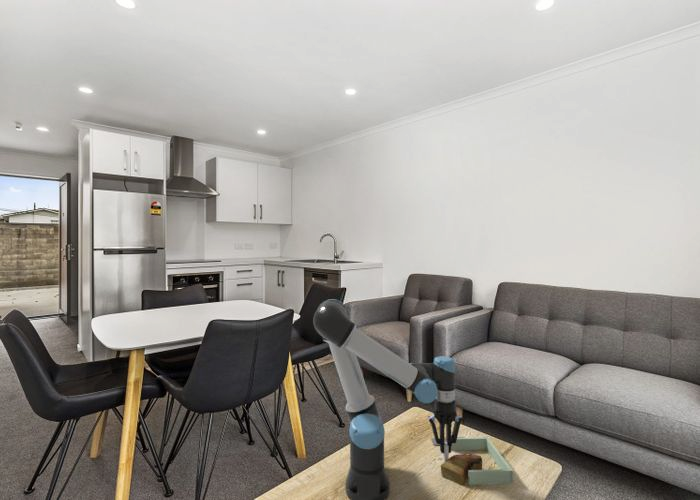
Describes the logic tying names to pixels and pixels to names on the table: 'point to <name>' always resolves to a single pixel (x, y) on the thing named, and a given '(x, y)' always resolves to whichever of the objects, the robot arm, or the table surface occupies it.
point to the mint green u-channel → (485, 476)
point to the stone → (460, 467)
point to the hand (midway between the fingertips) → (445, 460)
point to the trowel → (439, 438)
